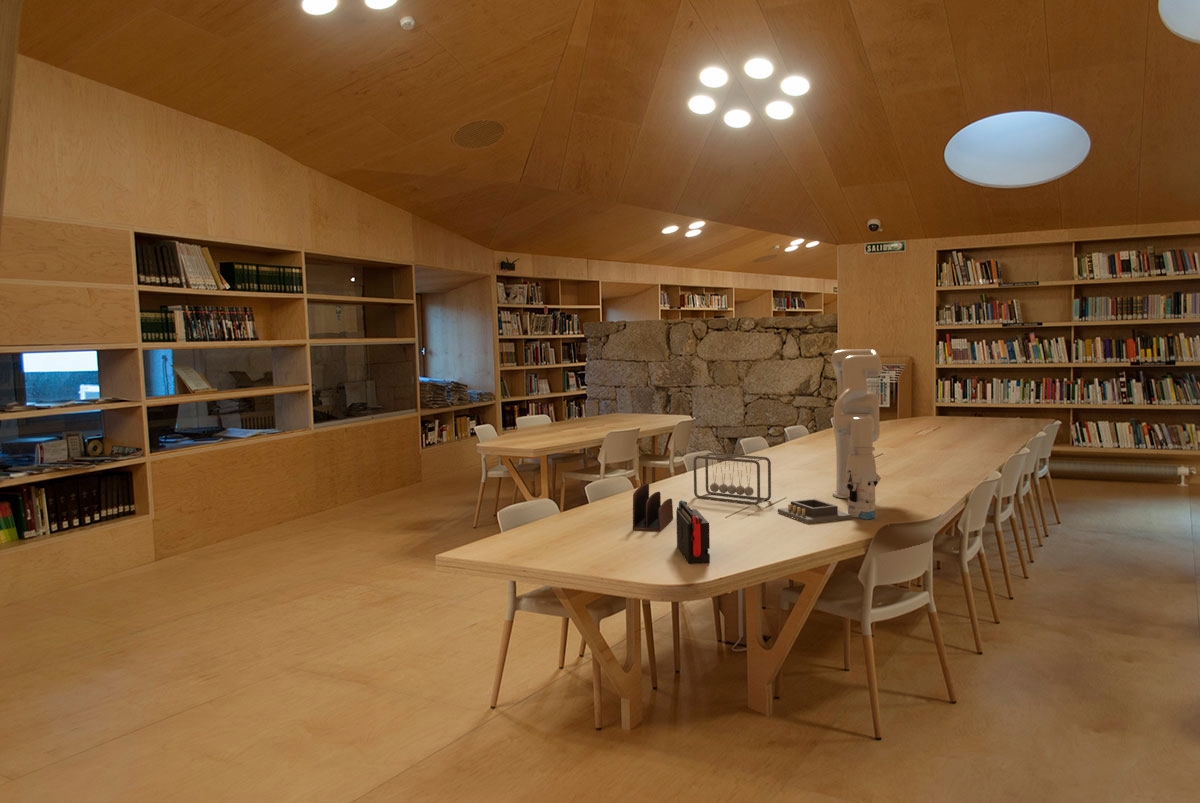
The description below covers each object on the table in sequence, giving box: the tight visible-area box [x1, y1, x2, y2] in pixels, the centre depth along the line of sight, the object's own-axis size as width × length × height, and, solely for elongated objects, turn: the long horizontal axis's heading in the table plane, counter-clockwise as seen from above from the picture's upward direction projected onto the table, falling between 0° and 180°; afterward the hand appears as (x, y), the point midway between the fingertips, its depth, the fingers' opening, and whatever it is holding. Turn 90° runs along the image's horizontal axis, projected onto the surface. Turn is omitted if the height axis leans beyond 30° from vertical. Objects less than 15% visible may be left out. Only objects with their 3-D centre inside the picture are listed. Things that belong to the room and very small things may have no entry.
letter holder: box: [632, 483, 674, 532], centre depth 289 cm, size 10×20×14 cm, turn 162°
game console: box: [675, 499, 711, 565], centre depth 248 cm, size 28×6×15 cm, turn 4°
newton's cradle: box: [693, 452, 772, 506], centre depth 330 cm, size 30×10×18 cm, turn 52°
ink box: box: [847, 478, 876, 520], centre depth 292 cm, size 8×5×15 cm, turn 39°
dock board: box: [777, 498, 852, 524], centre depth 296 cm, size 18×20×4 cm
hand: (861, 500), depth 292 cm, fingers closed on ink box, 6 cm apart
